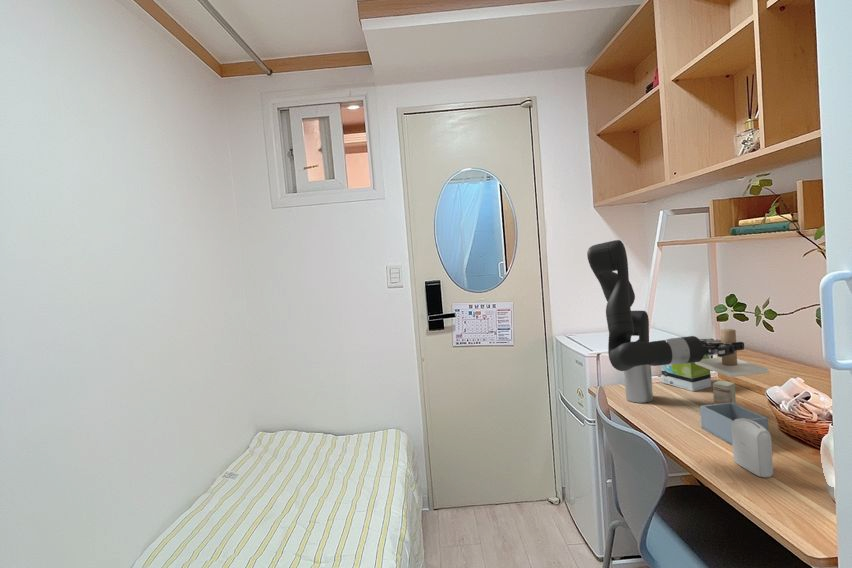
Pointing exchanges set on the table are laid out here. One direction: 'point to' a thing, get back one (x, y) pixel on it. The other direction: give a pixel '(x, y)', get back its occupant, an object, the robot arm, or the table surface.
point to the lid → (731, 360)
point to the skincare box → (724, 392)
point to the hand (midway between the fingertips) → (737, 344)
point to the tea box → (686, 376)
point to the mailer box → (726, 419)
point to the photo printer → (752, 447)
